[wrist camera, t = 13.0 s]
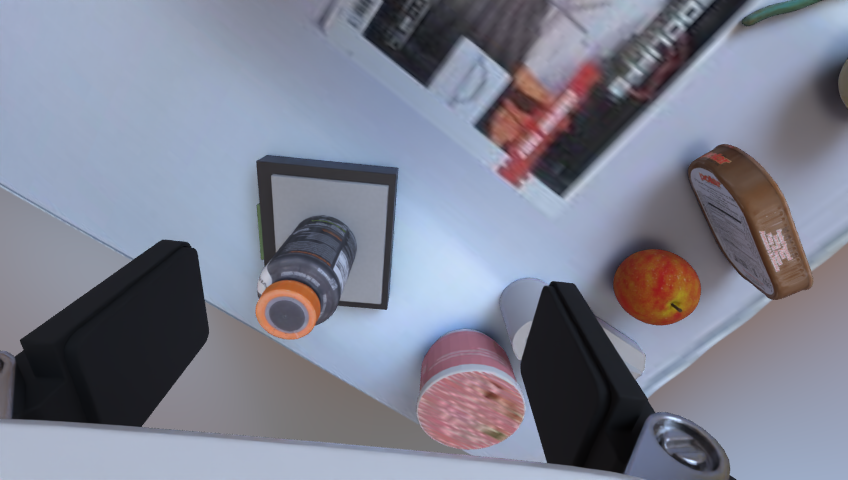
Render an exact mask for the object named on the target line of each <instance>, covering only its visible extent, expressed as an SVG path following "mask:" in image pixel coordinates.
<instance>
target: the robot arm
mask: <svg viewBox="0 0 848 480" xmlns="http://www.w3.org/2000/svg"><path fill="white" fill-rule="evenodd" d="M208 334H209V327H208V320H207V313H206V307H205V300H204V293H203V287H202V280H201V273H200V267H199V260H198V254H197V251H196V249H194V248H191V246H190V244H189V243H188V242H182V241H173V240H161V241H159V242H158V243H156V244H155V245H154V246H152V247H151V248H149V249H148V250H147V251H145V252H144V253H142V254H141V255H139V256H138V257H137V258H135V259H134V260H132V261H131V262H130V263H128V264H127V265H125V266H124V267H123V268H121V269H120V270H118V271H117V272H116V273H114V274H113V275H111V276H110V277H108V278H107V279H106V280H104V281H103V282H101V283H100V284H98V285H97V286H96V287H94V288H93V289H91V290H90V291H89V292H87V293H86V294H84V295H83V296H82V297H80V298H79V299H77V300H76V301H74V302H73V303H72V304H70V305H69V306H67V307H66V308H65V309H63V310H62V311H60V312H59V313H57V314H56V315H55V316H53V317H52V318H50V319H49V320H48V321H46V322H45V323H44V324H42V325H41V326H39V327H38V328H37V329H35V330H34V331H32V332H31V333H29V334H28V335H26V336H25V337H24V338H22V339H21V340H20V342H21V345H22V347H23V349H24V350H23V351H22V352H21V353H19V354H18V355H16V356H15V357H14V356H13V355H12V354H10V353H8V352H6V351H0V480H736V479H735V478H733V477H732V476H730V475H729V474H730V464H729V459H728V457H727V455H726V453H725V451H724V449H723V448H722V447H721V445H720V444H719V443H718V442H717V441H716V439H715V438H713V437H712V436H711V435H710V434H709V433H708V432H707V431H706V430H704V429H703V428H701V427H700V426H698V425H697V424H695V423H694V422H692V421H690V420H688V419H686V418H683V417H681V416H679V415H675V414H671V413H668V412H657V413H655V412H654V410H653V408H652V407H651V405H650V404H649V402H648V399H647V397H646V396H645V394H644V393H643V391H642V389H641V388H640V386H639V385H638V383H637V382H636V380H635V378H634V377H633V375H632V374H631V372H630V370H629V369H628V367H627V366H626V364H625V363H624V361H623V359H622V358H621V356H620V355H619V353H618V352H617V350H616V348H615V347H614V345H613V344H612V342H611V341H610V339H609V337H608V336H607V334H606V333H605V331H604V329H603V328H602V326H601V325H600V323H599V322H598V320H597V318H596V317H595V315H594V314H593V312H592V311H591V309H590V307H589V306H588V304H587V303H586V301H585V300H584V298H583V296H582V295H581V293H580V292H579V290H578V289H577V287H576V285H575V284H573V283H565V282H555V281H552V282H551V283H550V285H549V286H544V287H543V289H542V291H541V295H540V298H539V301H538V305H537V308H536V311H535V315H534V318H533V322H532V325H531V328H530V332H529V335H528V339H527V342H526V345H525V349H524V352H523V355H522V359H521V375H522V378H523V382H524V385H525V389H526V392H527V395H528V399H529V402H530V406H531V409H532V413H533V416H534V419H535V423H536V426H537V430H538V433H539V437H540V440H541V444H542V447H543V450H544V454H545V457H546V461H547V463H540V462H531V461H522V460H512V459H503V458H493V457H482V456H471V455H460V454H449V453H439V452H428V451H417V450H406V449H395V448H383V447H373V446H360V445H350V444H338V443H327V442H316V441H303V440H292V439H280V438H269V437H257V436H244V435H233V434H220V433H208V432H195V431H183V430H171V429H159V428H146V427H142V425H143V424H144V423H145V421H146V420H147V419H148V417H149V416H150V415H151V414H152V412H153V411H154V409H155V408H156V407H157V406H158V404H159V403H160V402H161V400H162V399H163V398H164V396H165V395H166V394H167V392H168V391H169V390H170V389H171V387H172V386H173V385H174V383H175V382H176V381H177V379H178V378H179V377H180V376H181V374H182V373H183V371H184V370H185V369H186V367H187V366H188V365H189V364H190V362H191V361H192V360H193V358H194V357H195V356H196V354H197V353H198V352H199V350H200V349H201V348H202V347H203V345H204V344H205V342H206V341H207V338H208Z"/></svg>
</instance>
